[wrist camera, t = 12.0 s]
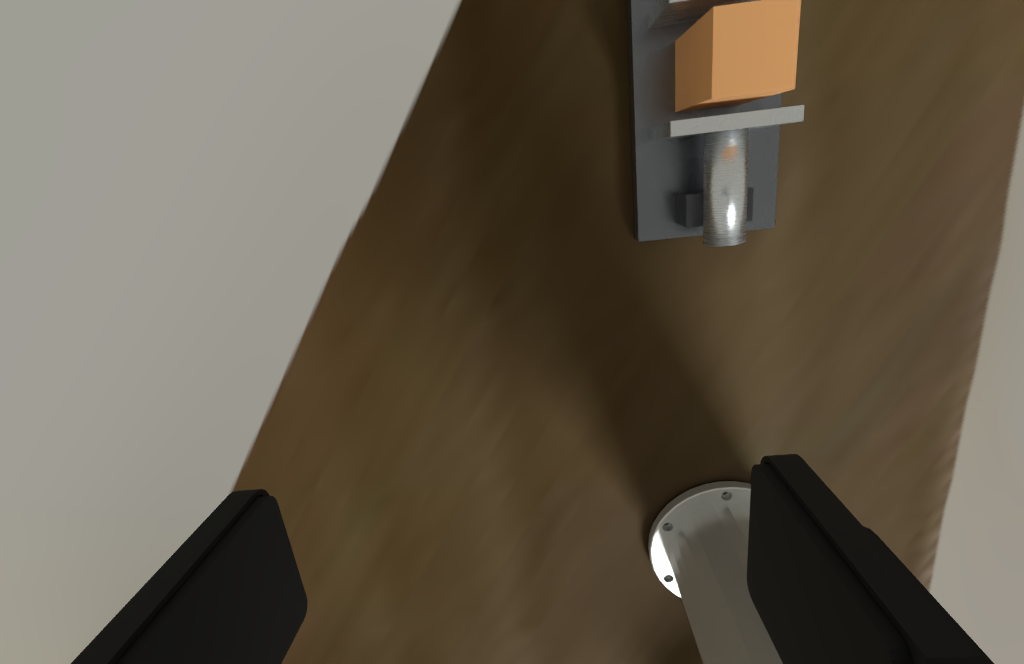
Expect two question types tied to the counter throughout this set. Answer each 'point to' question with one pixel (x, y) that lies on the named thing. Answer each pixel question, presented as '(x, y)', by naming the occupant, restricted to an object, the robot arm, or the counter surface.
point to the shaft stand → (695, 140)
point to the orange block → (737, 55)
